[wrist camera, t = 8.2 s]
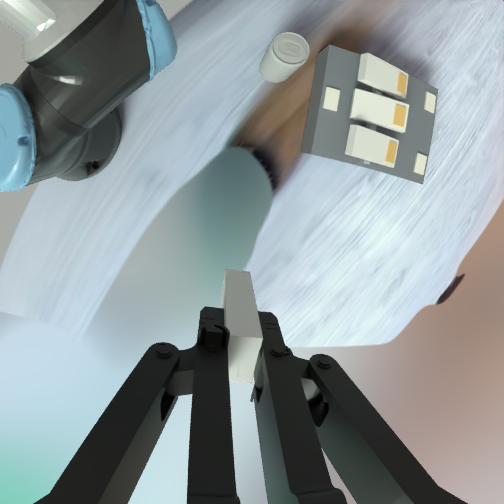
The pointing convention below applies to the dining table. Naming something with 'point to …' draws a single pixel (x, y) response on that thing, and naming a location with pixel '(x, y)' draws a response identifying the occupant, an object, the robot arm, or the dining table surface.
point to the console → (338, 122)
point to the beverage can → (284, 56)
